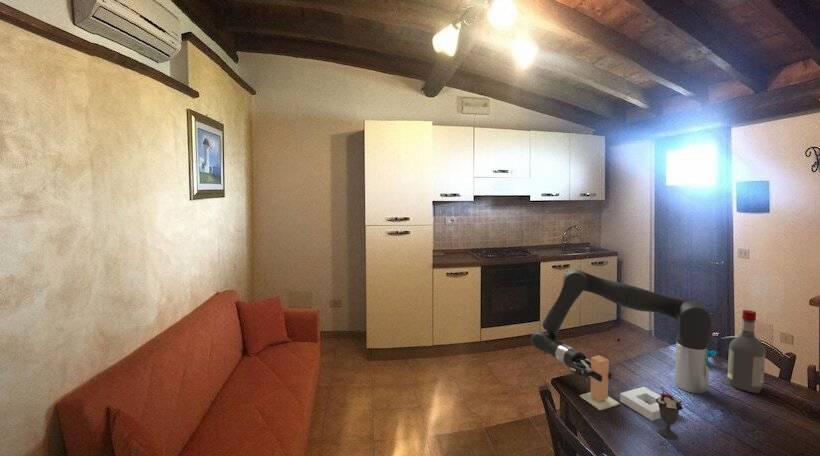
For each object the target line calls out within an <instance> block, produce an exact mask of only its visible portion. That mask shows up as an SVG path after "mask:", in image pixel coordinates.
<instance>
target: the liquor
mask: <svg viewBox="0 0 820 456" xmlns="http://www.w3.org/2000/svg"><path fill="white" fill-rule="evenodd" d="M741 318H742V327H741V333H740V335H738V336H736V337H735V338H733V339H732V340H731V341H730V342H729V345H728V346H729V347H728V359H727V360H728V361H727V362H728V363H727V376H726V377H727V378H726V382H727V383H728V385H730V386H731V387H732V386H733V387H732V388H734V387H735V388H734V389H737V388H738V389H737V390H740V389H742V390H741V391H743V390H745V391H744V392H746V391H748V392H747V393H749V392H755V393H754V394H759V393H760V392H761V391H762V389H763V387H764V378H765V364H766V363H765V362H766V347H765V345H764V344H763V343H762V342H761V341H760V340H759V339H758V338H757V337H756V334H755V321H756V320H757V312H756V311H754V310H751V309H750V310H749V309H742V317H741Z"/></svg>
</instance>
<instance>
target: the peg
mask: <svg viewBox="0 0 820 456" xmlns="http://www.w3.org/2000/svg"><path fill="white" fill-rule="evenodd" d="M590 360H591V370H592V371H594V372H596V373H598V374H600V375H601V376H602V381H601V382H600V381H598V380H596V379H595V378H593V377H590V391H589V392H590V395H591V396H592V397H594V398H595V399H597V400H598V401H602V400H606V399H608V396H609V379H608V373H609V372H610V371H609V367H610V366H609V365H610V361H609V359H608V358H605V357H604V356H602V355H600V354H599V355H595V356H591V358H590Z"/></svg>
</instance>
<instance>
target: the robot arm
mask: <svg viewBox="0 0 820 456" xmlns="http://www.w3.org/2000/svg"><path fill="white" fill-rule="evenodd" d="M562 283H563V284H562V287H561V290H560V293H559V295H558V296H557V299H556V301H555V302H554V304H553V305H552V306H551V307H550V309H549V311H548V312H547V314H546V316H545V318H544V320H543V322H542V328H543V329H544V330H545V333H544V332H540V331H535V332H533V333H532V334H531V336H530V343H531V344H532V346H533V347H534V348H535V349H537V350H539V351H541V352H544V353H546V354H549V355H551V357H554V358H555V359H557V360H558V361H559V362H560V363H562V364H564V365H566V366H567V367H568V368H570V372H571V373H574V374H576V375H579V376H581V377H584V378H588V377H589V378H591V377H593V378H595V379H596V380H598V381H600V382H601V381H602V376H601V375H600V374H598V373H596V372H594V371H592V370H591V358H590V359H589V358H587V357H586V354H584V353H583V352H581V351H580V350H578V349H577V348H575V347H572V346H570V345H567V344H565V343H563V342H562V341H560V340H557V339H558V334H559V330H560V328H561V326H562V325H563V323H564V321H565V320H566V317H567V315H568V313H569V311H570V309H571V308H572V307H573V304H574V303H575V301H576V300H577V299H578V298H579V296H580V295H581V294H582V293H583V292H587V293H592V294H595V295H598V296H600V297H602V298H603V299H606V300H608V301H610V302H612V303H613V304H616V305H618V306H621V307H625V308H626V309H631V310H635V311H640V312H648V313H649V312H650V313H656V314H657V313H659V314H661V315H665V316H667V317H670V318H672V319H675V320H677V321H679V330H678V331H679V332H678V334H677V335H676V340H675V341H676V343H675V344H676V346H675V347H676V348H675V365H674V367H675V369H674V385H675V386H676V387H677V388H679V389H681V390H683V391H685V392H689V393H692V394H703V393H705V392H708V390H709V375H710V367H709V366H708V365H707V350H708V344H709V342H710V339H711V331H712V318H711V315H710V312H708V311H707V310H706V309H705V308H704V307H703V306H701V305H700V304H698V303H697V302H694V301H691V300H690V301H689V300H684V299H679V298H674V297H669V296H666V295H665V296H664V295H662V294H659V293H657V292H653V291H650V290H647V289H644V288H641V287H638V286H634V285H631V284H627V283H624V282H623V283H622V282H619V281H615V280H611V279H607V278H601V277H598V276H595V275H593V274H591V273H587V272H585V271H582V270H580V269H575V268H573V269H569V270H568V271H566V272H565V273H564V275H563V282H562ZM612 379H613V374H612V372H610V371H609V373H608V380H612Z"/></svg>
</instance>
